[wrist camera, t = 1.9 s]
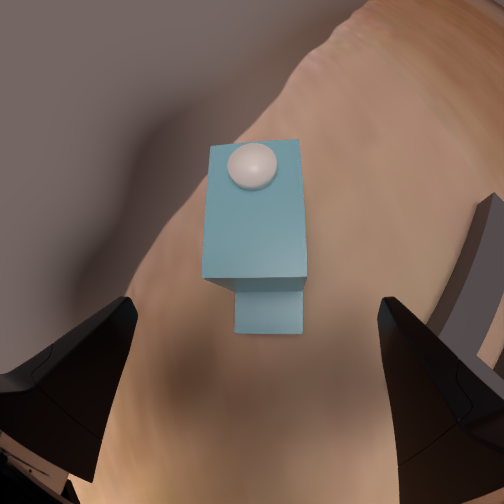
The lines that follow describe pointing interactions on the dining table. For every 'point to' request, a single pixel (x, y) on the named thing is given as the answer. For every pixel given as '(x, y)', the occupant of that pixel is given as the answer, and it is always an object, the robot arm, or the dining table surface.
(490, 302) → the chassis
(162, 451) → the dining table surface
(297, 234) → the servo
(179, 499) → the dining table surface
